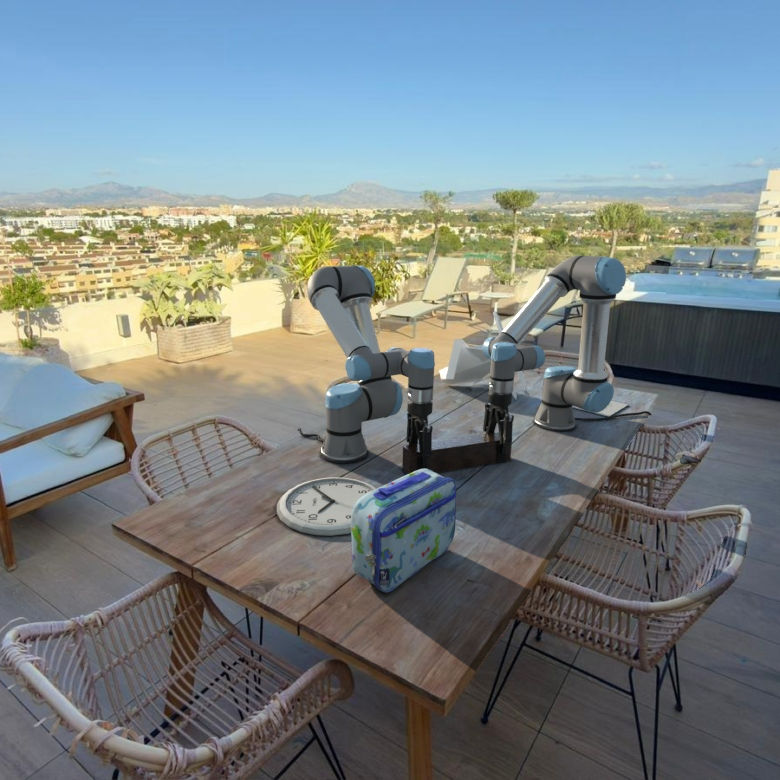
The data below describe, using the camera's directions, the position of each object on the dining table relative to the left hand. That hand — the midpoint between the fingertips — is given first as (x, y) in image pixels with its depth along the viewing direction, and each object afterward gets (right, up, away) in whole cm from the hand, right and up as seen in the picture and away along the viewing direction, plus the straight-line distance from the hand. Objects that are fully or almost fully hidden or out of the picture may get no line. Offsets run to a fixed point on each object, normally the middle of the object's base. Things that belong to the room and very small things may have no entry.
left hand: (417, 470), depth 164 cm
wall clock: (-24, -6, -21) cm, 33 cm away
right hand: (+26, +3, +10) cm, 28 cm away
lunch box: (-5, -15, -46) cm, 48 cm away
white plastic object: (+33, +24, +80) cm, 89 cm away
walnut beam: (+13, +1, +5) cm, 14 cm away
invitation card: (+83, +18, +63) cm, 105 cm away
